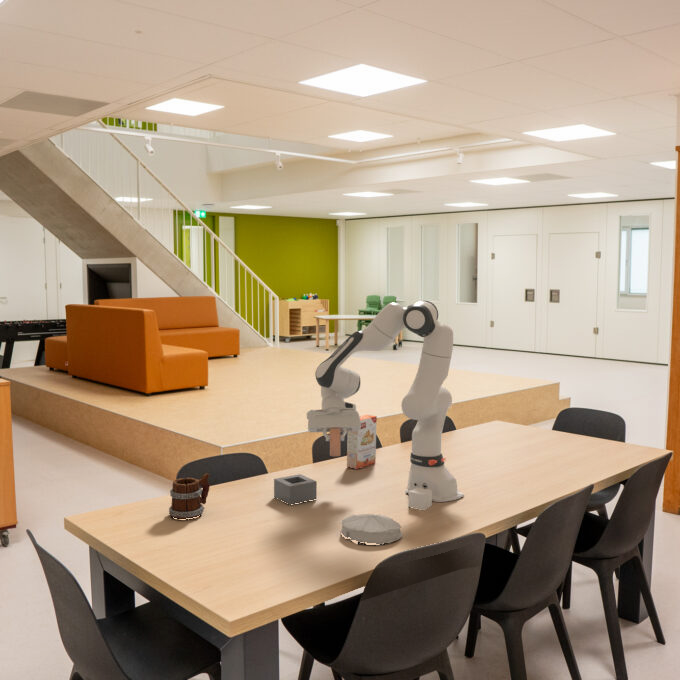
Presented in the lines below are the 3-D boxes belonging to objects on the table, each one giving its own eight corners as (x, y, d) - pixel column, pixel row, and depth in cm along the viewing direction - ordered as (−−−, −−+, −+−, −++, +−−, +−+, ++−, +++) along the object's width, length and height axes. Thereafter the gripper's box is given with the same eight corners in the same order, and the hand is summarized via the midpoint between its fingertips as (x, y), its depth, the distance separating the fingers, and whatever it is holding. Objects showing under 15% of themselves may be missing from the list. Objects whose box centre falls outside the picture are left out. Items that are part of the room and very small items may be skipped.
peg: (342, 455, 267) (342, 429, 266) (333, 457, 265) (333, 430, 264) (336, 453, 271) (336, 427, 270) (327, 454, 268) (327, 428, 267)
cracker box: (357, 470, 296) (358, 420, 294) (346, 467, 300) (346, 419, 298) (376, 463, 307) (377, 415, 305) (365, 460, 311) (365, 413, 309)
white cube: (416, 503, 254) (417, 487, 254) (431, 506, 251) (432, 490, 250) (408, 508, 249) (408, 491, 249) (423, 511, 246) (424, 494, 245)
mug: (159, 514, 240) (165, 470, 240) (194, 512, 250) (200, 469, 250) (178, 523, 232) (184, 477, 232) (214, 520, 242) (220, 476, 242)
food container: (326, 534, 225) (326, 513, 225) (372, 519, 238) (372, 500, 237) (368, 554, 210) (368, 532, 209) (415, 537, 223) (415, 516, 222)
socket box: (316, 500, 257) (316, 481, 256) (289, 505, 250) (289, 486, 250) (300, 492, 266) (300, 474, 265) (274, 497, 260) (274, 478, 259)
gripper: (306, 405, 272) (307, 436, 263) (359, 404, 274) (362, 435, 265) (306, 414, 277) (307, 445, 268) (358, 413, 279) (361, 444, 270)
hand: (335, 440), depth 267 cm, fingers closed on peg, 4 cm apart
